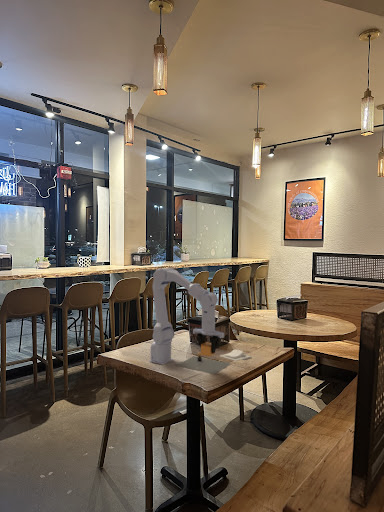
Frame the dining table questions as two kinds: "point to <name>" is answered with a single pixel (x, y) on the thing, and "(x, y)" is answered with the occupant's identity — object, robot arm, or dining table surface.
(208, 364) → the board
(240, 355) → the light switch
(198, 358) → the wire post
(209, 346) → the orange panelled cube
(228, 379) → the dining table surface
